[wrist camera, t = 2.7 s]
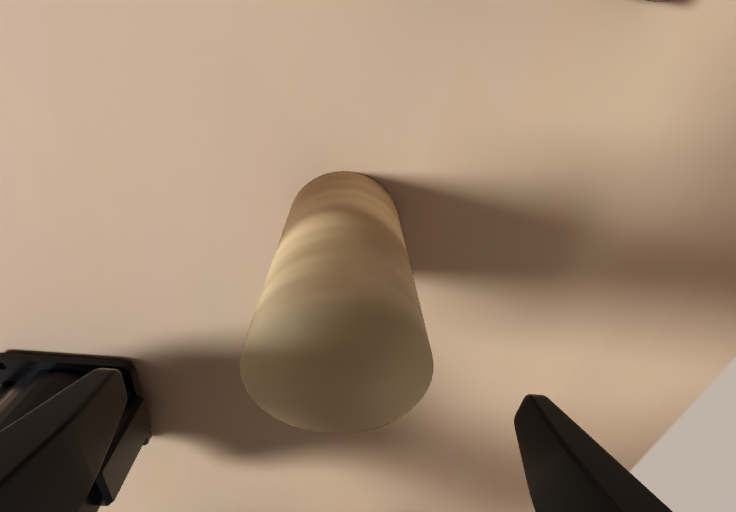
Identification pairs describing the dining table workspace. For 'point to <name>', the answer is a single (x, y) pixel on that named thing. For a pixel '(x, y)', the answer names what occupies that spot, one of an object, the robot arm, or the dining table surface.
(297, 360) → the wooden dowel
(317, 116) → the dining table surface
